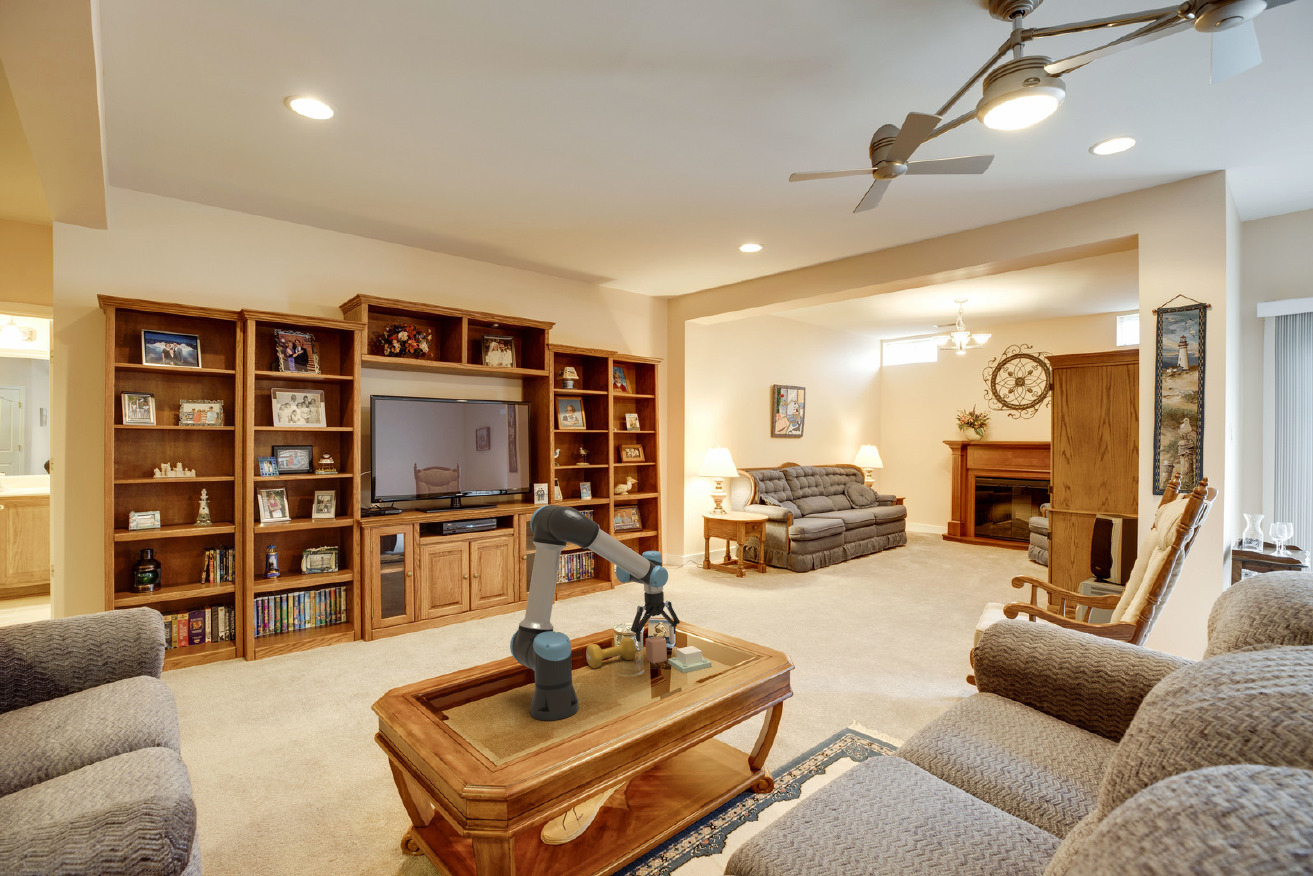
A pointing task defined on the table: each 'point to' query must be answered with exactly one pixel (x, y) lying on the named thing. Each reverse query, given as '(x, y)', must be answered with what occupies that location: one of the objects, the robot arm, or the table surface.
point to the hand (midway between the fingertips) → (656, 646)
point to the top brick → (656, 649)
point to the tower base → (690, 667)
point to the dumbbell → (610, 652)
